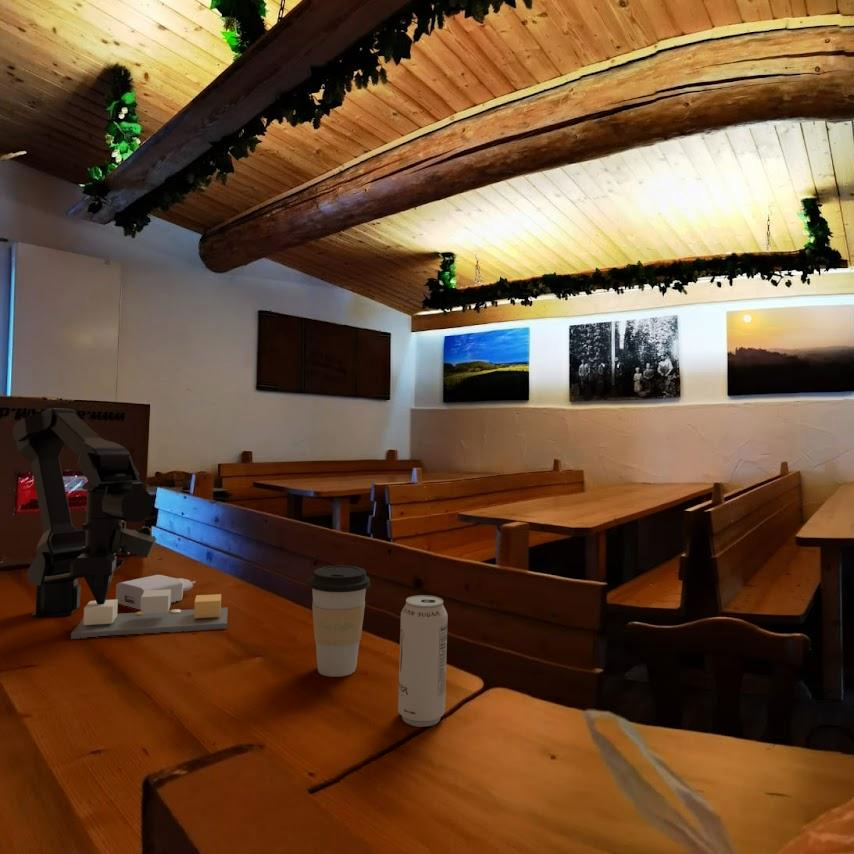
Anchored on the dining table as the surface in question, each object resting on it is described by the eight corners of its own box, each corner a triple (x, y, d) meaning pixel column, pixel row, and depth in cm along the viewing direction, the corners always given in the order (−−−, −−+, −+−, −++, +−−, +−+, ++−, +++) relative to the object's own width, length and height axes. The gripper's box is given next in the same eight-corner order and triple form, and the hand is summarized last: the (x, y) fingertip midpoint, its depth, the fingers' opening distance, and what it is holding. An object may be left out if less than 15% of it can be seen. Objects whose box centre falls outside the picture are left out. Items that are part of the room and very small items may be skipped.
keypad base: (70, 639, 100) (71, 632, 100) (85, 621, 110) (85, 614, 110) (226, 628, 108) (226, 622, 108) (227, 612, 118) (227, 606, 118)
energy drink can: (399, 705, 79) (402, 593, 80) (444, 707, 79) (447, 594, 79) (395, 727, 73) (399, 606, 74) (444, 730, 73) (448, 608, 73)
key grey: (140, 613, 106) (141, 597, 106) (144, 606, 110) (144, 590, 111) (167, 612, 108) (168, 595, 108) (170, 605, 112) (171, 589, 112)
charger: (206, 595, 130) (143, 612, 117) (178, 589, 134) (115, 605, 121) (207, 574, 130) (144, 588, 117) (179, 568, 134) (116, 581, 121)
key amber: (194, 618, 109) (194, 602, 109) (195, 611, 113) (196, 595, 113) (220, 616, 110) (220, 600, 110) (220, 609, 115) (221, 594, 115)
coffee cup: (316, 686, 85) (319, 580, 85) (298, 662, 93) (301, 566, 93) (377, 675, 89) (380, 575, 89) (355, 654, 97) (357, 562, 98)
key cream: (83, 625, 103) (84, 607, 104) (89, 617, 108) (90, 600, 108) (112, 623, 105) (112, 606, 105) (117, 615, 109) (117, 599, 109)
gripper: (145, 523, 100) (142, 616, 100) (159, 509, 118) (157, 588, 118) (70, 524, 97) (67, 621, 97) (97, 509, 115) (94, 591, 114)
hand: (101, 603), depth 106 cm, fingers closed, pressing on key cream
